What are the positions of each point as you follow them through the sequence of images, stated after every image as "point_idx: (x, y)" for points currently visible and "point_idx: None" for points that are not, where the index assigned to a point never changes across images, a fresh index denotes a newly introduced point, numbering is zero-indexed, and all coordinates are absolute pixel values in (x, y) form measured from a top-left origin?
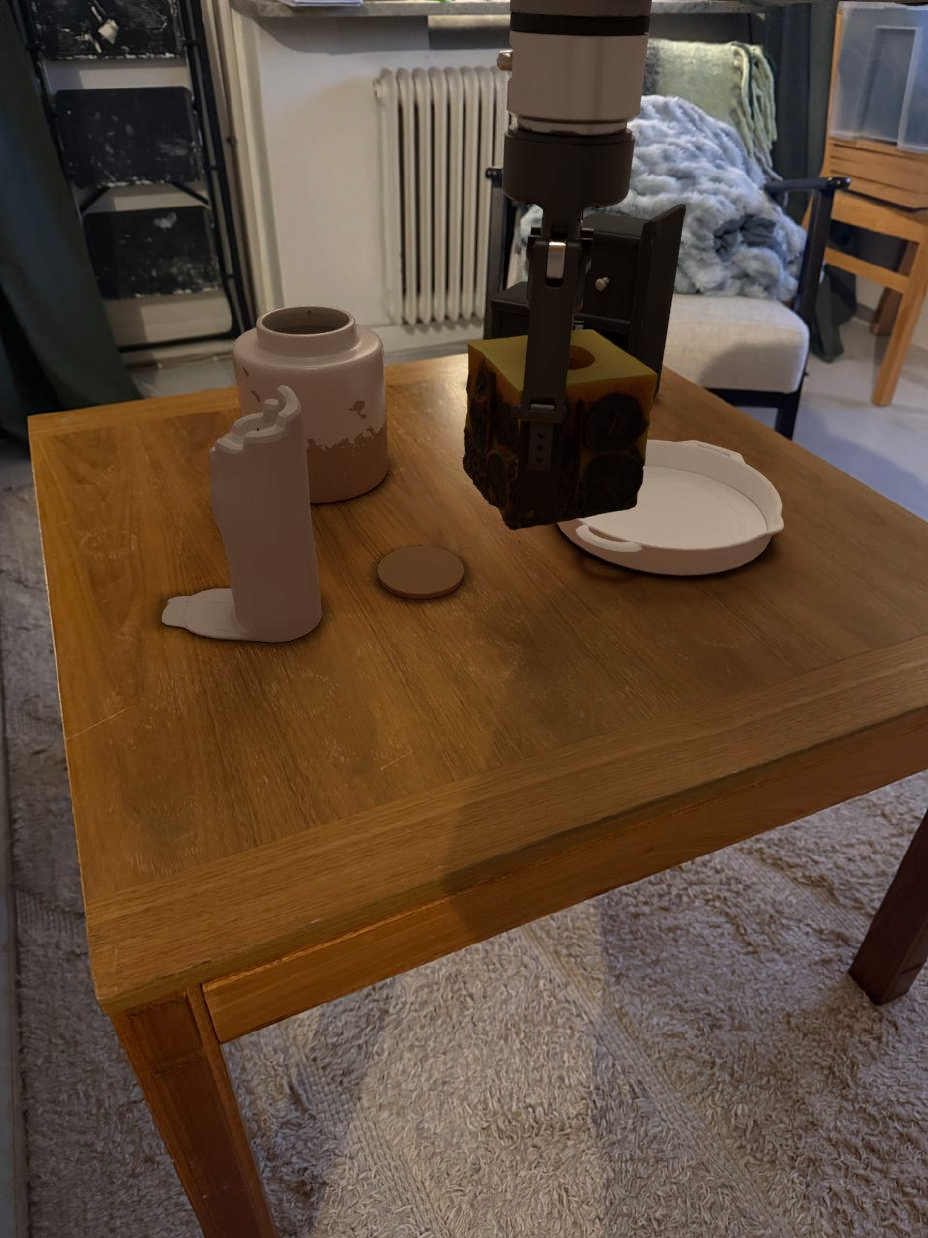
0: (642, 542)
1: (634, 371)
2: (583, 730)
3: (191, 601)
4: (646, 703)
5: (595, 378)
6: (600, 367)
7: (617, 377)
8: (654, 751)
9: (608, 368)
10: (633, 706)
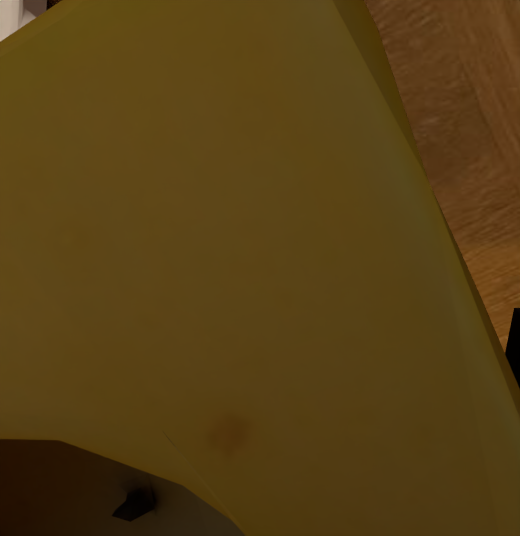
0: (16, 9)
1: (284, 141)
2: (465, 118)
3: None
4: (401, 15)
5: (496, 483)
6: (219, 424)
7: (466, 313)
8: (511, 6)
9: (227, 366)
10: (409, 38)
